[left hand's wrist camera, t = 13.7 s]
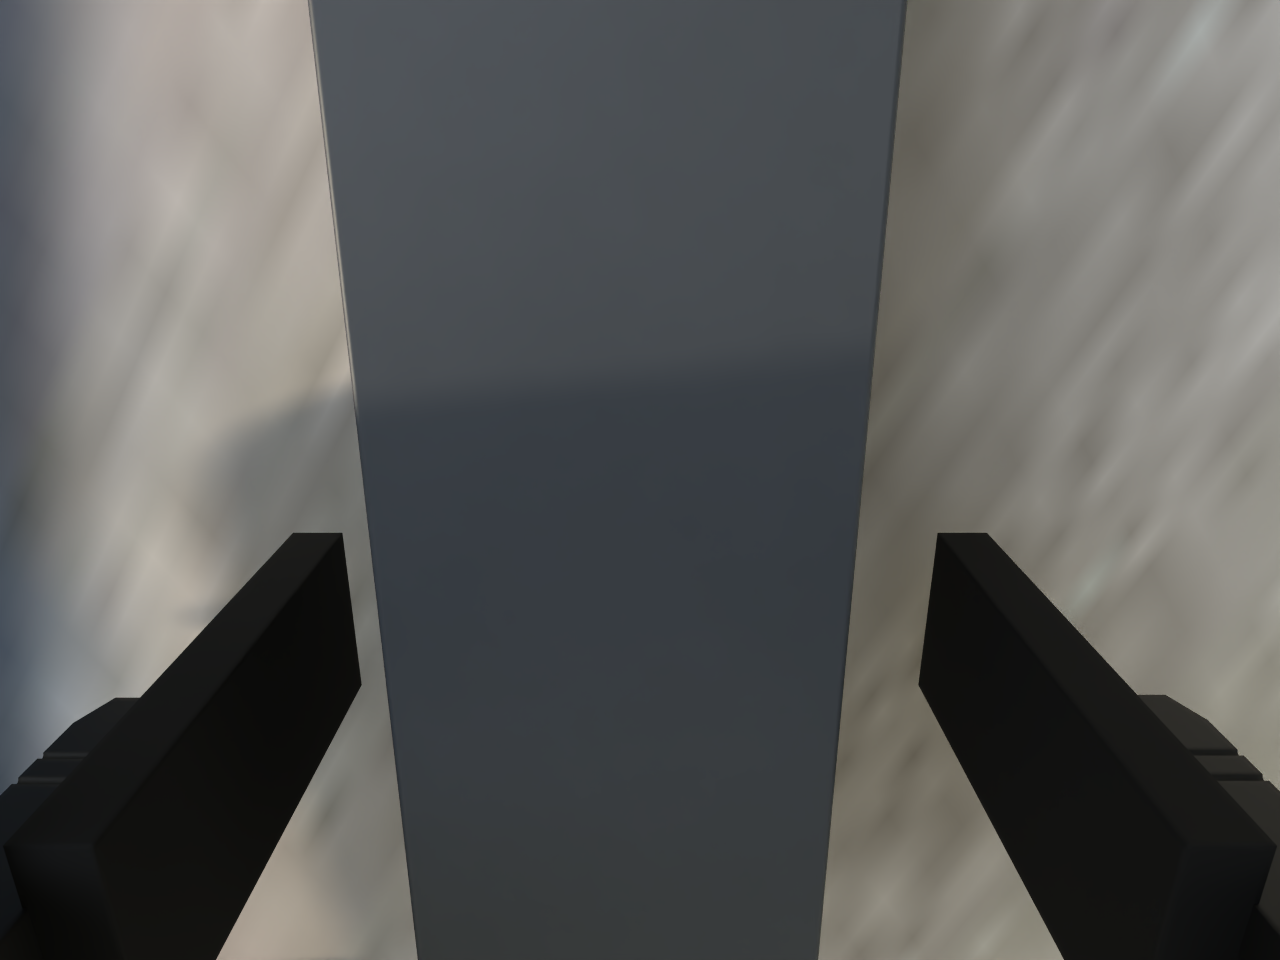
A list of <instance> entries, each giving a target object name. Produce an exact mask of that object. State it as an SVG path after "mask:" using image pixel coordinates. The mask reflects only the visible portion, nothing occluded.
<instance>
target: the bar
mask: <svg viewBox="0 0 1280 960" xmlns="http://www.w3.org/2000/svg"><path fill="white" fill-rule="evenodd" d="M308 6H309V15H310V23H311V32H312V41H313V49H314V58H315V67H316V76H317V84H318V93H319V102H320V110H321V119H322V128H323V137H324V145H325V154H326V163H327V171H328V180H329V189H330V198H331V206H332V215H333V224H334V232H335V241H336V250H337V259H338V267H339V276H340V285H341V293H342V302H343V311H344V320H345V328H346V337H347V346H348V354H349V363H350V372H351V381H352V389H353V398H354V407H355V415H356V424H357V433H358V442H359V450H360V459H361V468H362V476H363V485H364V494H365V503H366V511H367V520H368V529H369V537H370V546H371V555H372V564H373V572H374V581H375V590H376V598H377V607H378V616H379V625H380V633H381V642H382V651H383V659H384V668H385V677H386V686H387V694H388V703H389V712H390V720H391V729H392V738H393V747H394V755H395V764H396V773H397V781H398V790H399V799H400V808H401V816H402V825H403V834H404V842H405V851H406V860H407V869H408V877H409V886H410V895H411V903H412V912H413V921H414V930H415V938H416V947H417V956H418V960H818V954H819V944H820V933H821V922H822V911H823V901H824V890H825V879H826V868H827V858H828V847H829V836H830V825H831V815H832V804H833V793H834V782H835V772H836V761H837V750H838V739H839V729H840V718H841V707H842V697H843V686H844V675H845V664H846V654H847V643H848V632H849V621H850V611H851V600H852V589H853V578H854V568H855V557H856V546H857V535H858V525H859V514H860V503H861V492H862V482H863V471H864V460H865V449H866V439H867V428H868V417H869V407H870V396H871V385H872V374H873V364H874V353H875V342H876V331H877V321H878V310H879V299H880V288H881V278H882V267H883V256H884V245H885V235H886V224H887V213H888V202H889V192H890V181H891V170H892V159H893V149H894V138H895V127H896V117H897V106H898V95H899V84H900V74H901V63H902V52H903V41H904V31H905V20H906V9H907V0H308Z"/></svg>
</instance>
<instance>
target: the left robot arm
mask: <svg viewBox="0 0 1280 960" xmlns="http://www.w3.org/2000/svg"><path fill="white" fill-rule="evenodd" d="M361 685H362V684H361V677H360V669H359V661H358V653H357V645H356V637H355V629H354V621H353V614H352V606H351V598H350V590H349V582H348V574H347V566H346V558H345V551H344V543H343V535H342V533H293V534H292V535H291V536H290V537H289V538H288V539H287V540H286V541H285V542H284V543H283V544H282V546H281V547H280V548H279V549H278V550H277V551H276V552H275V553H274V554H273V555H272V556H271V557H270V558H269V560H268V561H267V562H266V563H265V564H264V565H263V566H262V567H261V568H260V569H259V570H258V571H257V572H256V574H255V575H254V576H253V577H252V578H251V579H250V580H249V581H248V582H247V583H246V584H245V585H244V586H243V588H242V589H241V590H240V591H239V592H238V593H237V594H236V595H235V596H234V597H233V598H232V599H231V600H230V602H229V603H228V604H227V605H226V606H225V607H224V608H223V609H222V610H221V611H220V612H219V613H218V614H217V616H216V617H215V618H214V619H213V620H212V621H211V622H210V623H209V624H208V625H207V626H206V627H205V628H204V630H203V631H202V632H201V633H200V634H199V635H198V636H197V637H196V638H195V639H194V640H193V641H192V642H191V644H190V645H189V646H188V647H187V648H186V649H185V650H184V651H183V652H182V653H181V654H180V655H179V656H178V658H177V659H176V660H175V661H174V662H173V663H172V664H171V665H170V666H169V667H168V668H167V669H166V670H165V672H164V673H163V674H162V675H161V676H160V677H159V678H158V679H157V680H156V681H155V682H154V683H153V684H152V686H151V687H150V688H149V689H148V690H147V691H146V692H145V693H144V694H143V695H142V696H141V697H140V698H114V699H113V700H111V701H109V702H108V703H106V704H104V705H103V706H101V707H99V708H98V709H96V710H94V711H93V712H91V713H89V714H88V715H86V716H84V717H83V718H81V719H79V720H78V721H76V722H74V723H73V724H72V725H71V726H70V727H69V728H68V729H67V730H66V731H65V732H64V733H63V734H62V735H61V736H60V737H59V738H58V739H57V740H56V741H55V742H54V743H53V744H52V745H51V746H50V747H49V748H48V749H47V750H46V751H45V752H44V753H43V758H42V759H37V760H36V761H35V762H34V763H33V764H32V765H31V766H30V767H29V768H28V769H27V770H26V771H25V772H24V773H23V774H22V775H21V776H20V777H19V778H18V783H17V784H11V785H10V786H9V787H8V788H7V789H6V790H5V791H4V792H3V793H2V794H1V795H0V960H216V959H217V957H218V955H219V953H220V951H221V949H222V947H223V945H224V943H225V942H226V940H227V938H228V936H229V934H230V932H231V930H232V928H233V926H234V925H235V923H236V921H237V919H238V917H239V915H240V913H241V911H242V909H243V908H244V906H245V904H246V902H247V900H248V898H249V896H250V894H251V892H252V891H253V889H254V887H255V885H256V883H257V881H258V879H259V877H260V875H261V874H262V872H263V870H264V868H265V866H266V864H267V862H268V860H269V858H270V857H271V855H272V853H273V851H274V849H275V847H276V845H277V843H278V842H279V840H280V838H281V836H282V834H283V832H284V830H285V828H286V826H287V825H288V823H289V821H290V819H291V817H292V815H293V813H294V811H295V809H296V808H297V806H298V804H299V802H300V800H301V798H302V796H303V794H304V792H305V791H306V789H307V787H308V785H309V783H310V781H311V779H312V777H313V775H314V774H315V772H316V770H317V768H318V766H319V764H320V762H321V760H322V758H323V757H324V755H325V753H326V751H327V749H328V747H329V745H330V743H331V741H332V740H333V738H334V736H335V734H336V732H337V730H338V728H339V726H340V725H341V723H342V721H343V719H344V717H345V715H346V713H347V711H348V709H349V708H350V706H351V704H352V702H353V700H354V698H355V696H356V694H357V692H358V691H359V689H360V687H361ZM919 687H920V689H921V691H922V692H923V694H924V696H925V698H926V700H927V702H928V704H929V706H930V707H931V709H932V711H933V713H934V715H935V717H936V719H937V721H938V723H939V724H940V726H941V728H942V730H943V732H944V734H945V736H946V738H947V740H948V741H949V743H950V745H951V747H952V749H953V751H954V753H955V755H956V757H957V758H958V760H959V762H960V764H961V766H962V768H963V770H964V772H965V774H966V775H967V777H968V779H969V781H970V783H971V785H972V787H973V789H974V791H975V792H976V794H977V796H978V798H979V800H980V802H981V804H982V806H983V808H984V809H985V811H986V813H987V815H988V817H989V819H990V821H991V823H992V824H993V826H994V828H995V830H996V832H997V834H998V836H999V838H1000V840H1001V841H1002V843H1003V845H1004V847H1005V849H1006V851H1007V853H1008V855H1009V857H1010V858H1011V860H1012V862H1013V864H1014V866H1015V868H1016V870H1017V872H1018V874H1019V875H1020V877H1021V879H1022V881H1023V883H1024V885H1025V887H1026V889H1027V891H1028V892H1029V894H1030V896H1031V898H1032V900H1033V902H1034V904H1035V906H1036V908H1037V909H1038V911H1039V913H1040V915H1041V917H1042V919H1043V921H1044V923H1045V925H1046V926H1047V928H1048V930H1049V932H1050V934H1051V936H1052V938H1053V940H1054V942H1055V943H1056V945H1057V947H1058V949H1059V951H1060V953H1061V955H1062V957H1063V958H1064V960H1280V791H1279V790H1278V789H1277V788H1276V787H1275V786H1274V785H1273V784H1272V783H1271V782H1270V781H1264V780H1263V777H1262V776H1263V774H1262V773H1261V772H1260V771H1259V770H1258V769H1257V768H1256V767H1255V766H1253V765H1252V764H1251V763H1250V762H1249V761H1248V760H1247V759H1246V758H1245V757H1244V756H1239V755H1238V752H1237V749H1236V748H1235V747H1234V746H1233V745H1232V744H1231V743H1230V742H1229V741H1228V740H1227V739H1226V738H1225V737H1224V736H1223V735H1222V734H1221V733H1220V732H1219V731H1218V730H1217V729H1216V728H1215V727H1214V726H1213V725H1212V724H1211V723H1210V722H1209V721H1208V720H1207V719H1205V718H1203V717H1201V716H1200V715H1198V714H1196V713H1195V712H1193V711H1191V710H1190V709H1188V708H1186V707H1185V706H1183V705H1181V704H1180V703H1178V702H1176V701H1175V700H1173V699H1171V698H1170V697H1168V696H1166V695H1137V694H1136V693H1135V692H1134V691H1133V690H1132V689H1131V688H1130V687H1129V686H1128V684H1127V683H1126V682H1125V681H1124V680H1123V679H1122V678H1121V677H1120V676H1119V675H1118V674H1117V673H1116V672H1115V670H1114V669H1113V668H1112V667H1111V666H1110V665H1109V664H1108V663H1107V662H1106V661H1105V660H1104V659H1103V658H1102V656H1101V655H1100V654H1099V653H1098V652H1097V651H1096V650H1095V649H1094V648H1093V647H1092V646H1091V645H1090V644H1089V642H1088V641H1087V640H1086V639H1085V638H1084V637H1083V636H1082V635H1081V634H1080V633H1079V632H1078V631H1077V630H1076V628H1075V627H1074V626H1073V625H1072V624H1071V623H1070V622H1069V621H1068V620H1067V619H1066V618H1065V617H1064V616H1063V614H1062V613H1061V612H1060V611H1059V610H1058V609H1057V608H1056V607H1055V606H1054V605H1053V604H1052V603H1051V602H1050V600H1049V599H1048V598H1047V597H1046V596H1045V595H1044V594H1043V593H1042V592H1041V591H1040V590H1039V589H1038V588H1037V586H1036V585H1035V584H1034V583H1033V582H1032V581H1031V580H1030V579H1029V578H1028V577H1027V576H1026V575H1025V574H1024V572H1023V571H1022V570H1021V569H1020V568H1019V567H1018V566H1017V565H1016V564H1015V563H1014V562H1013V561H1012V560H1011V558H1010V557H1009V556H1008V555H1007V554H1006V553H1005V552H1004V551H1003V550H1002V549H1001V548H1000V547H999V546H998V544H997V543H996V542H995V541H994V540H993V539H992V538H991V537H990V536H989V535H988V534H987V533H938V535H937V543H936V551H935V559H934V566H933V574H932V582H931V590H930V598H929V606H928V614H927V622H926V629H925V637H924V645H923V653H922V661H921V669H920V677H919Z"/></svg>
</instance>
